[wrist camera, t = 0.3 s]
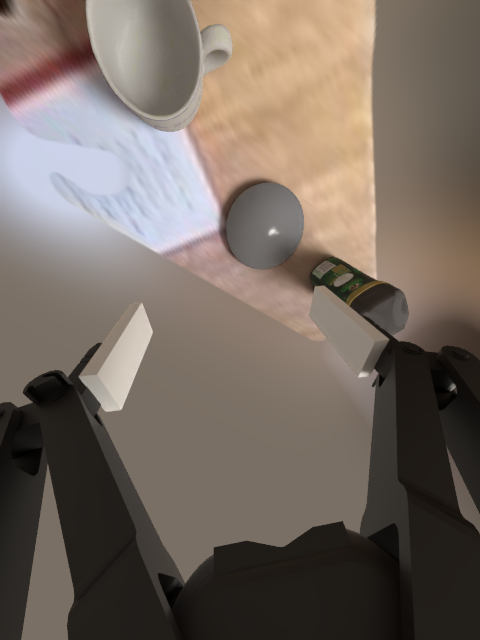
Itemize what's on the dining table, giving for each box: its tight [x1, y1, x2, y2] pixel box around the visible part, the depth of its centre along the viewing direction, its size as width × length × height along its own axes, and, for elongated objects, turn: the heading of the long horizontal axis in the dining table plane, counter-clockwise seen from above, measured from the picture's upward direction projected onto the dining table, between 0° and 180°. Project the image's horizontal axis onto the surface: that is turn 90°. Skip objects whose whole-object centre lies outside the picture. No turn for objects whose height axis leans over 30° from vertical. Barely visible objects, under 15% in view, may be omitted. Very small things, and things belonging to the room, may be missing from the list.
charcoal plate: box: [226, 183, 304, 269], centre depth 36 cm, size 15×15×2 cm
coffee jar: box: [311, 258, 409, 335], centre depth 37 cm, size 10×8×19 cm
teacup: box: [86, 0, 232, 132], centre depth 22 cm, size 14×11×8 cm
